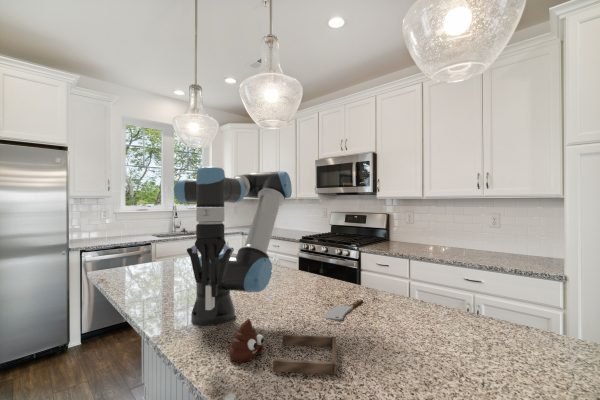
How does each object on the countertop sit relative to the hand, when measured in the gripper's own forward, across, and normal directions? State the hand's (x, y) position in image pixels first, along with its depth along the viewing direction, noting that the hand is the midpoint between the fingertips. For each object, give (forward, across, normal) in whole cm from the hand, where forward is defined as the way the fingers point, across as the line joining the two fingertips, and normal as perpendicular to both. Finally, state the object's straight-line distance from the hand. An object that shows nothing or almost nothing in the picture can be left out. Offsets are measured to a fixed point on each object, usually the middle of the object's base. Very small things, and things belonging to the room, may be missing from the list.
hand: (210, 308), depth 81 cm
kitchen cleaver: (+12, +38, +38) cm, 55 cm away
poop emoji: (+13, +10, 0) cm, 16 cm away
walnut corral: (+12, +27, 0) cm, 29 cm away
